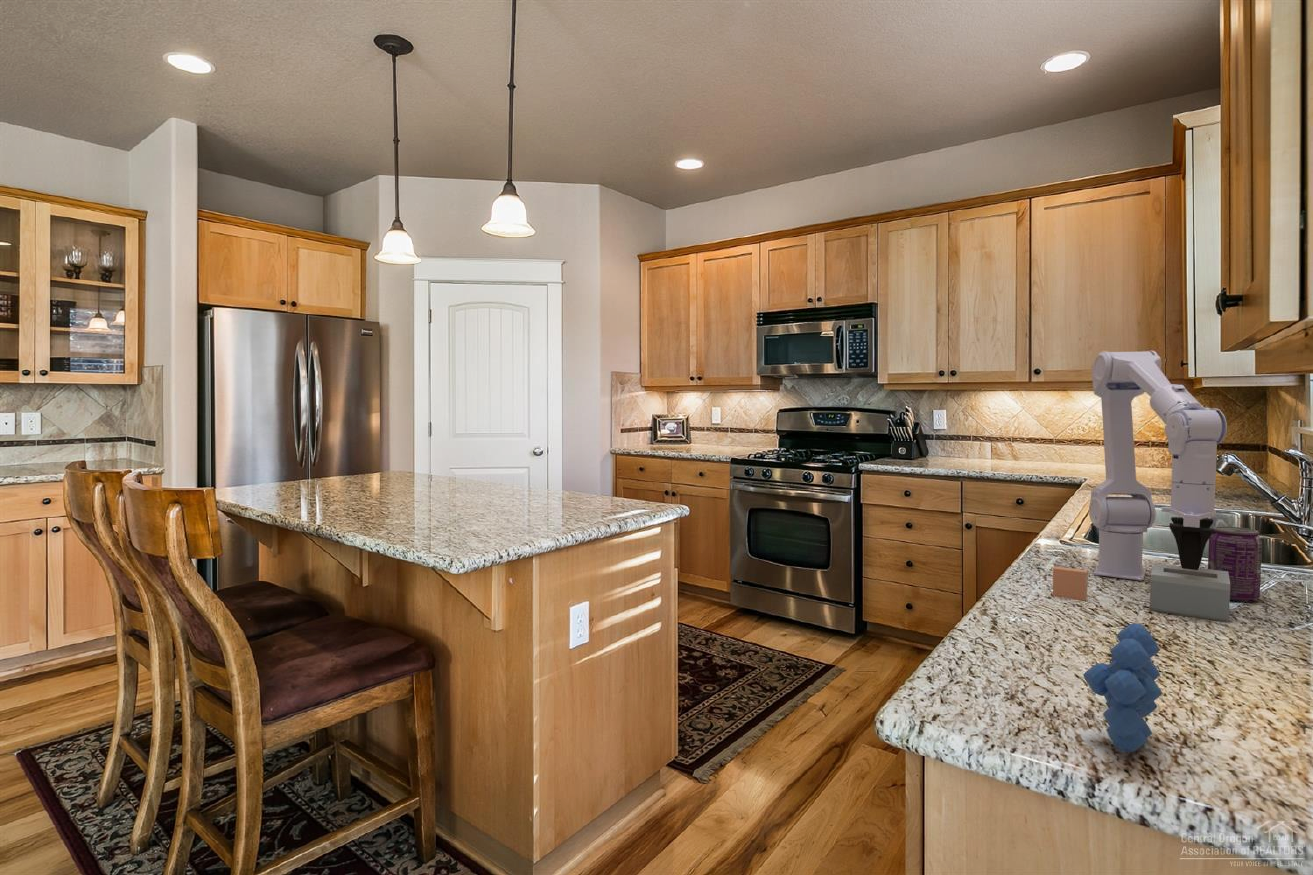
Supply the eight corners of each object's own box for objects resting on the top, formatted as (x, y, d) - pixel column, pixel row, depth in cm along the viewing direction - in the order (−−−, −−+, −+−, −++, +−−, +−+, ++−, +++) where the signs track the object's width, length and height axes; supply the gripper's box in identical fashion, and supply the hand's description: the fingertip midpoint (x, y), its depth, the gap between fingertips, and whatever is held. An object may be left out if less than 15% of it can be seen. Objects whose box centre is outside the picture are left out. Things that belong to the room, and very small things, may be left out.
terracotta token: (1054, 593, 123) (1055, 566, 123) (1087, 598, 120) (1087, 570, 120) (1052, 596, 122) (1053, 568, 121) (1085, 601, 118) (1086, 572, 118)
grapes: (1094, 711, 76) (1097, 605, 76) (1169, 731, 72) (1173, 618, 71) (1066, 750, 68) (1070, 630, 67) (1150, 775, 63) (1154, 647, 63)
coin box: (1152, 596, 121) (1154, 562, 120) (1226, 606, 114) (1228, 571, 114) (1149, 610, 113) (1151, 574, 113) (1228, 622, 107) (1230, 584, 106)
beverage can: (1239, 592, 123) (1242, 526, 123) (1270, 603, 116) (1273, 533, 116) (1197, 591, 124) (1199, 525, 123) (1225, 602, 117) (1228, 532, 116)
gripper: (1164, 477, 121) (1161, 553, 121) (1160, 485, 109) (1158, 569, 110) (1216, 479, 116) (1213, 558, 117) (1218, 488, 105) (1214, 576, 106)
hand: (1190, 564), depth 113 cm, fingers open, 7 cm apart
